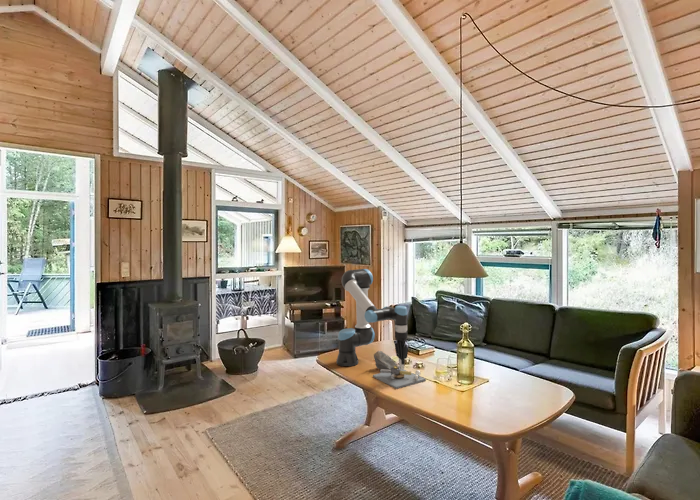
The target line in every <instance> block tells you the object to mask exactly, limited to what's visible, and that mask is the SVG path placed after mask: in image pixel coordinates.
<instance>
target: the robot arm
mask: <svg viewBox="0 0 700 500" xmlns="http://www.w3.org/2000/svg"><path fill="white" fill-rule="evenodd" d="M373 281H374V276H373V272H371V271H370V269H368V268H357V269H348V270H346V271H345V272H344V273H343V275H342V276H341V285H342V287H343V289H344V290H345V291H346V292H348V293H349V294H350V295H351V296H352V298H353V299H354V300H355V304H356V305H355V306H356V307H355V309H356V311H355V312H356V324H355V326H354V328H352V327H349V328H343V329H341V330H340V331H339V332H338V336H337V340H338V354H337V358H336V365H337V364H338V365H337V366H339V365H340V366H339V367H343V366H350V367H355V366H357V365H358V364H359V358H358V355H357V353H356V348H357V347H362V346H369V345H371V344H372V343H373V342H374V340H375V335H376V334H375V331H374V328H373V327H372V325H371V323H377V322H382V321H389V320H392V321H394V331H395V332H394V337H395V340H393V343H394V348H395V355H396V357H397V359H398V364H399V365H398V366H399V368H400V370H402V369H404V370H405V360H406V359H408V354H409V349H410V344H408V342H407V338H408V309H407V306H405V305H395V307H393V306H392V307H391V306H384V307H382V308H377V307H376V306H375V305H374V303H373V302H372V301H371V299H370V298H369V290H370V288H371V285H372V284H373Z"/></svg>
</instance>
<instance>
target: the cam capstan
mask: <svg viewBox="0 0 700 500" xmlns="http://www.w3.org/2000/svg"><path fill="white" fill-rule="evenodd" d="M379 373H391V379H394V378H398V379H400V378H404V375H411V373H412V371H409V370H406V371H400V368H399V365H397V366H394V367H392V368H391V370H386V369H379Z"/></svg>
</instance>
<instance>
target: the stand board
mask: <svg viewBox="0 0 700 500" xmlns="http://www.w3.org/2000/svg"><path fill="white" fill-rule="evenodd" d="M400 371H407V370H406V369H405V368H404V369H402V370H400ZM420 375H421V371H420V370H419V369H417V370H415V373H413V372H411V375H404V378H400V379H398V378H394V379H391V373H380V372H379V373H375V374H372V378H374V379H376V380H378V381H380V382H383V383H384V384H386V385H388V386H389V387H392V388H394V389H395V390H398V389H402V388H404V387H409V386H413V385H417V384H420V383H423V382H426V381H427V379H426V378H424V377H422V376H420Z"/></svg>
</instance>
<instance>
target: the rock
mask: <svg viewBox="0 0 700 500" xmlns="http://www.w3.org/2000/svg"><path fill="white" fill-rule="evenodd" d="M373 359H374V363H375V364H374V365H375V367H376V368H377V369H378V370H381V369H386V370H391V368H392V367H394V366H398V365H397V363H396V361H394V360H393V359H392V358H391V356H390V355H388V354H386V353H385V352H383V350H382V351H381V350H377V351H376V352H375V353H374V354H373Z"/></svg>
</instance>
